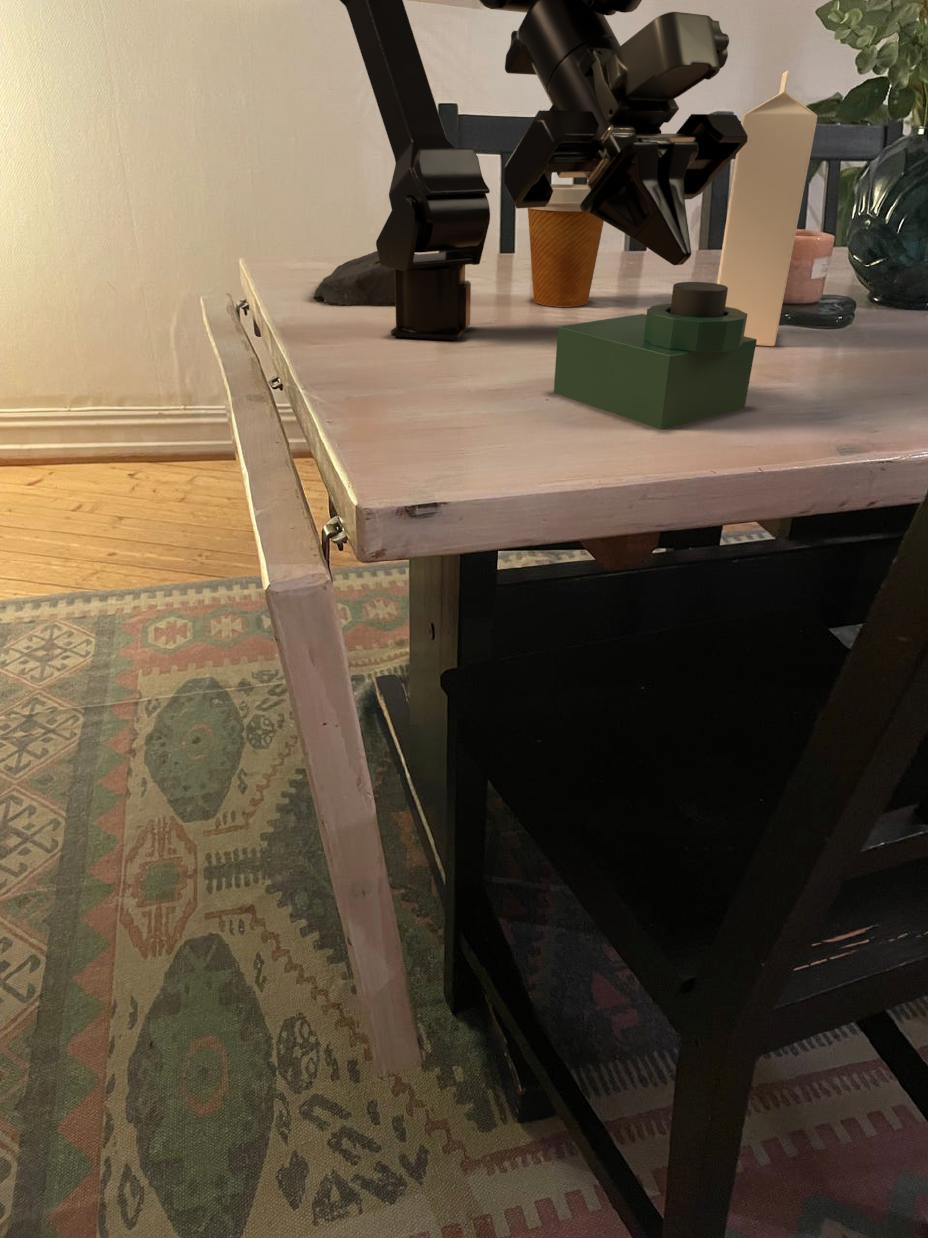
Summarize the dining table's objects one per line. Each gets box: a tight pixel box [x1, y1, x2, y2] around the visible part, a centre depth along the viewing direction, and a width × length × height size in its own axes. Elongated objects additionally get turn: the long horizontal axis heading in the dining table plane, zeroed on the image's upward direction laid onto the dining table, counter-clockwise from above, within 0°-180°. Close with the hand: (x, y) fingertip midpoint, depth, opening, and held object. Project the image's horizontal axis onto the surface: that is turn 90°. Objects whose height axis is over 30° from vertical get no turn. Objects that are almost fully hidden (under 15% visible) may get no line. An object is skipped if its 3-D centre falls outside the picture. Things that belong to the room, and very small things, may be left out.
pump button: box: [670, 281, 728, 318], centre depth 58 cm, size 4×4×2 cm
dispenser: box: [553, 302, 757, 431], centre depth 62 cm, size 12×9×7 cm
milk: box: [716, 69, 818, 347], centre depth 79 cm, size 6×6×22 cm
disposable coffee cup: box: [527, 183, 605, 308], centre depth 97 cm, size 10×10×12 cm
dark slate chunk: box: [313, 250, 419, 306], centre depth 105 cm, size 15×22×5 cm
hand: (683, 260), depth 58 cm, fingers closed
